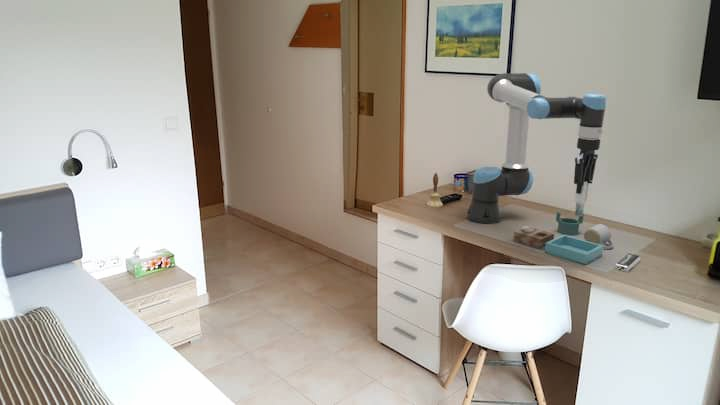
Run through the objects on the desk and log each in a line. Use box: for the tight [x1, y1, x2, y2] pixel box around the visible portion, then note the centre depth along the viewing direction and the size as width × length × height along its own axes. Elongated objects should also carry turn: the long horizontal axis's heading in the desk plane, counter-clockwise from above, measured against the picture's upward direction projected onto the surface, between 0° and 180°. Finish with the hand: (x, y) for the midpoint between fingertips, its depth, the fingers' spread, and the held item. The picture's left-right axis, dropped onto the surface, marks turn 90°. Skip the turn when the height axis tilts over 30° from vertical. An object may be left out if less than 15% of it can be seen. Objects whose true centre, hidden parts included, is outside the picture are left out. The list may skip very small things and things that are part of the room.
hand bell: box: [425, 172, 444, 208], centre depth 264 cm, size 8×8×16 cm
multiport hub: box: [614, 252, 641, 272], centre depth 196 cm, size 4×14×2 cm, turn 138°
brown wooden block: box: [512, 225, 555, 250], centre depth 216 cm, size 12×10×5 cm
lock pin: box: [574, 180, 587, 217], centre depth 199 cm, size 3×3×13 cm
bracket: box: [555, 211, 585, 236], centre depth 229 cm, size 9×9×9 cm
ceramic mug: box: [583, 223, 614, 250], centre depth 214 cm, size 11×8×8 cm
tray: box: [544, 234, 604, 266], centre depth 205 cm, size 16×14×4 cm
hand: (580, 200), depth 199 cm, fingers closed on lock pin, 3 cm apart
